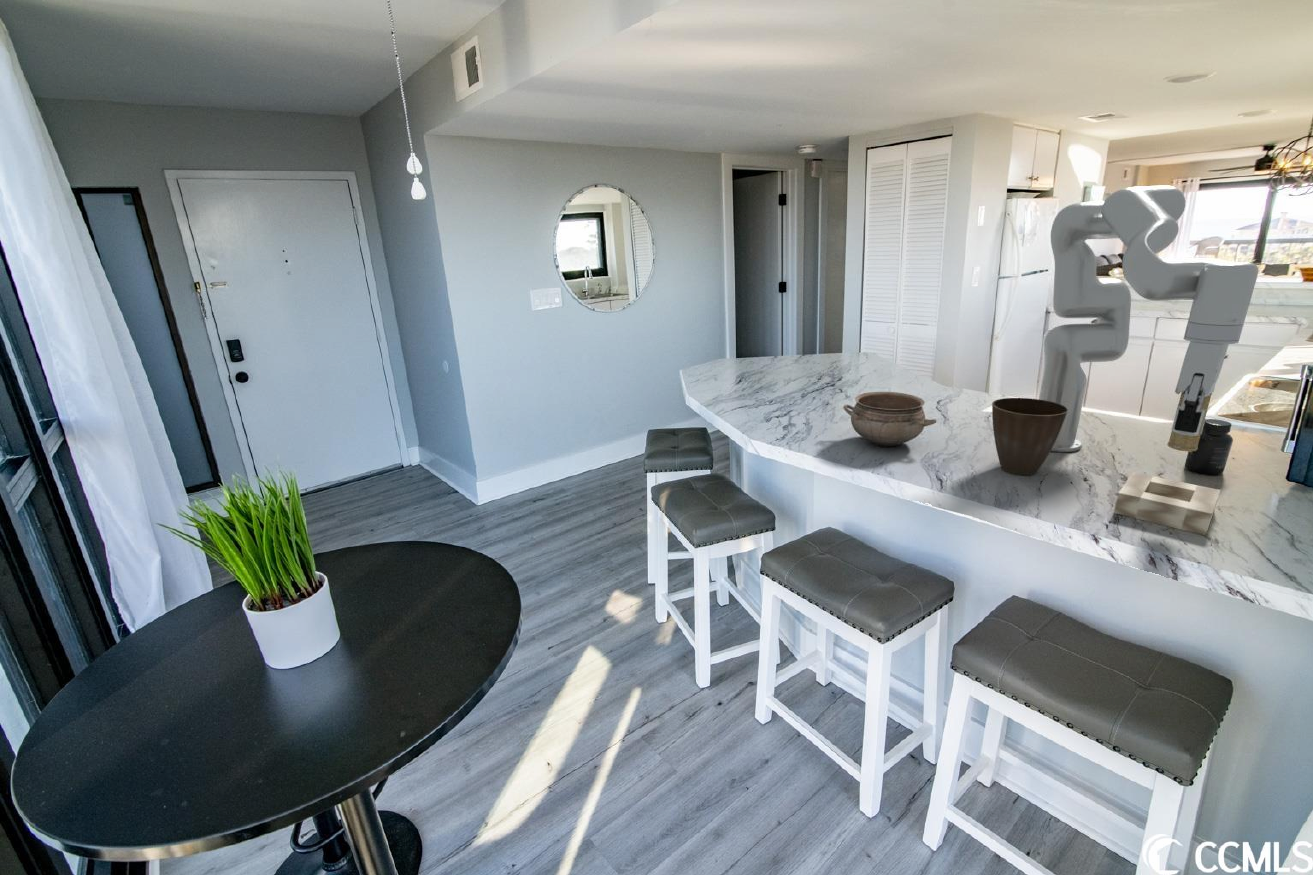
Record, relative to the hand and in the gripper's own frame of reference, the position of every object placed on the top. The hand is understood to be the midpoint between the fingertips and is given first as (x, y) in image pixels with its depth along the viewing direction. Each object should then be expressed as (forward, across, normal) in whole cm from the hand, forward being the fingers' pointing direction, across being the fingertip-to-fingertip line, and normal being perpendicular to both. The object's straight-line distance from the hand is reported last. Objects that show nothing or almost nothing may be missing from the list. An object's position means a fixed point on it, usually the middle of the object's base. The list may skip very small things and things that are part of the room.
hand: (1187, 426), depth 114 cm
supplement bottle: (+18, -31, +3) cm, 36 cm away
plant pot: (+18, -5, -28) cm, 34 cm away
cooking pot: (+18, -3, -60) cm, 63 cm away
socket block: (+18, 0, 0) cm, 18 cm away
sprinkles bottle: (+5, 0, 0) cm, 5 cm away
